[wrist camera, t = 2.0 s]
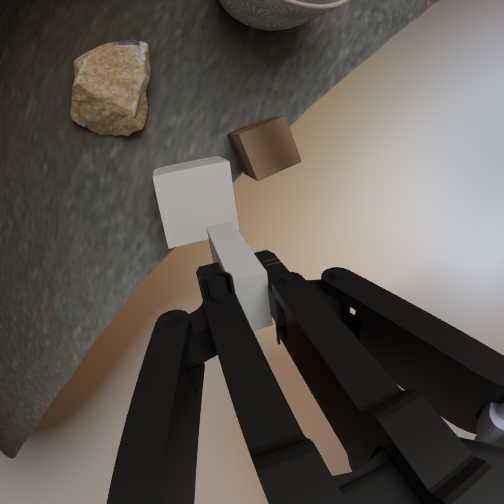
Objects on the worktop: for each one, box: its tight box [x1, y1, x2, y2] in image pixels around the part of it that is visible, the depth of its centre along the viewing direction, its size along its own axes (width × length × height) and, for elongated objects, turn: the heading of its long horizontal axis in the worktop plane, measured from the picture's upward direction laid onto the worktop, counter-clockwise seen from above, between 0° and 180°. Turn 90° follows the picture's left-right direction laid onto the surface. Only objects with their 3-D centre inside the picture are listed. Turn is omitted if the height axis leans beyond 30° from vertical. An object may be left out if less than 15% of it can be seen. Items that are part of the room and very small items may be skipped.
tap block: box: [153, 156, 239, 249], centre depth 29 cm, size 7×7×6 cm
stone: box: [71, 40, 151, 136], centre depth 22 cm, size 8×10×4 cm
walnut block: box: [228, 116, 301, 181], centre depth 29 cm, size 5×5×5 cm
